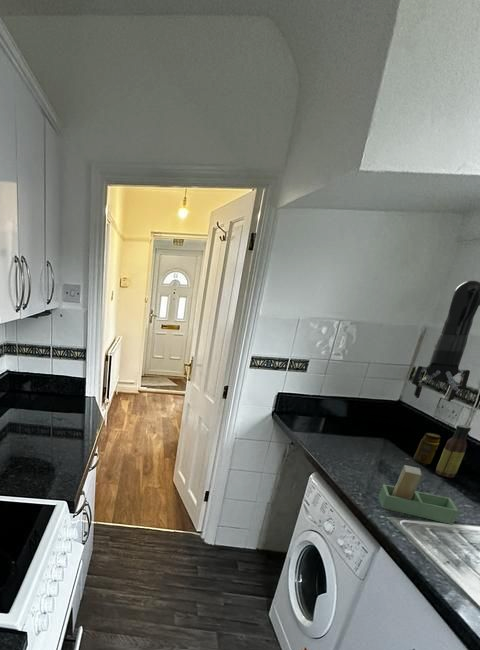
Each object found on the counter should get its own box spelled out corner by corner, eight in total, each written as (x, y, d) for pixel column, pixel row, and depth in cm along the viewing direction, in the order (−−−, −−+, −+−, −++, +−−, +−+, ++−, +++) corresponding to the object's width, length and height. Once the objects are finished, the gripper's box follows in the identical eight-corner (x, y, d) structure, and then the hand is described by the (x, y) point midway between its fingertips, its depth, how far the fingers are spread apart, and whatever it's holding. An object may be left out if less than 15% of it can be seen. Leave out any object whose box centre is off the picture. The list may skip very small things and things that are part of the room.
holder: (445, 510, 133) (450, 498, 131) (452, 524, 125) (459, 511, 123) (378, 496, 140) (383, 484, 138) (381, 508, 132) (386, 495, 130)
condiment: (435, 464, 171) (447, 437, 166) (422, 466, 167) (435, 439, 162) (416, 457, 177) (428, 430, 171) (404, 459, 173) (415, 432, 168)
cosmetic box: (389, 497, 137) (403, 464, 132) (405, 501, 135) (420, 467, 130) (390, 505, 132) (405, 471, 127) (406, 509, 130) (422, 475, 125)
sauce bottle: (456, 476, 160) (480, 428, 151) (450, 479, 156) (474, 430, 148) (436, 469, 165) (458, 422, 156) (430, 473, 161) (452, 425, 153)
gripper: (424, 348, 132) (408, 398, 138) (481, 351, 126) (462, 404, 132) (419, 346, 138) (404, 395, 144) (473, 350, 132) (455, 400, 138)
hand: (432, 399), depth 138 cm, fingers open, 8 cm apart
